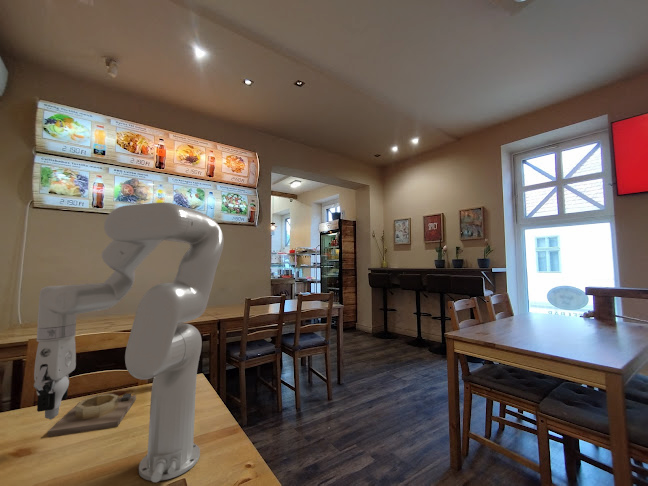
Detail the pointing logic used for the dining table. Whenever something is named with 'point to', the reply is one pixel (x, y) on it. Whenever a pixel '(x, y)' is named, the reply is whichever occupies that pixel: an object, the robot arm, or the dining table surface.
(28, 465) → the dining table surface
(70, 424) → the lamp base
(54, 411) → the lightbulb
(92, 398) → the holder ring
